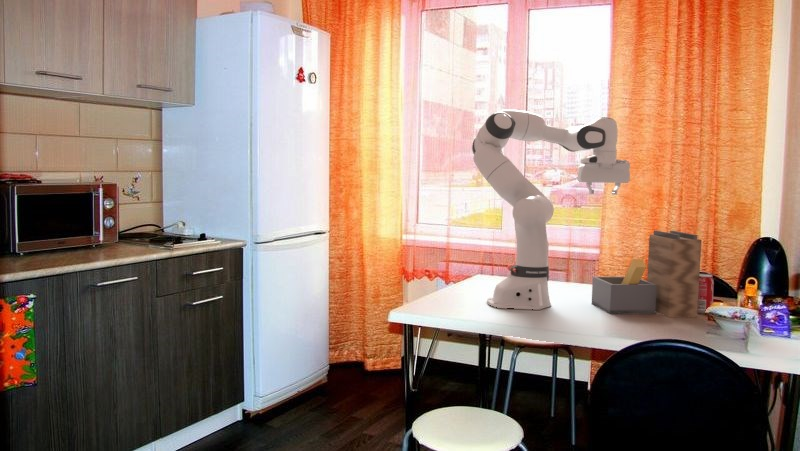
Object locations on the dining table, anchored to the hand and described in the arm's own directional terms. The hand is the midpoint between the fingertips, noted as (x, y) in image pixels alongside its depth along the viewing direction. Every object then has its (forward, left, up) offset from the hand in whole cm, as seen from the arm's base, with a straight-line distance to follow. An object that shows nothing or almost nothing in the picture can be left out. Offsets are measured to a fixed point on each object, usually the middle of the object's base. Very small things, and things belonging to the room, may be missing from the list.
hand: (602, 194), depth 252 cm
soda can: (+22, -36, -39) cm, 58 cm away
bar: (-4, -37, -30) cm, 48 cm away
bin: (-4, -31, -39) cm, 50 cm away
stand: (+11, -36, -39) cm, 54 cm away
